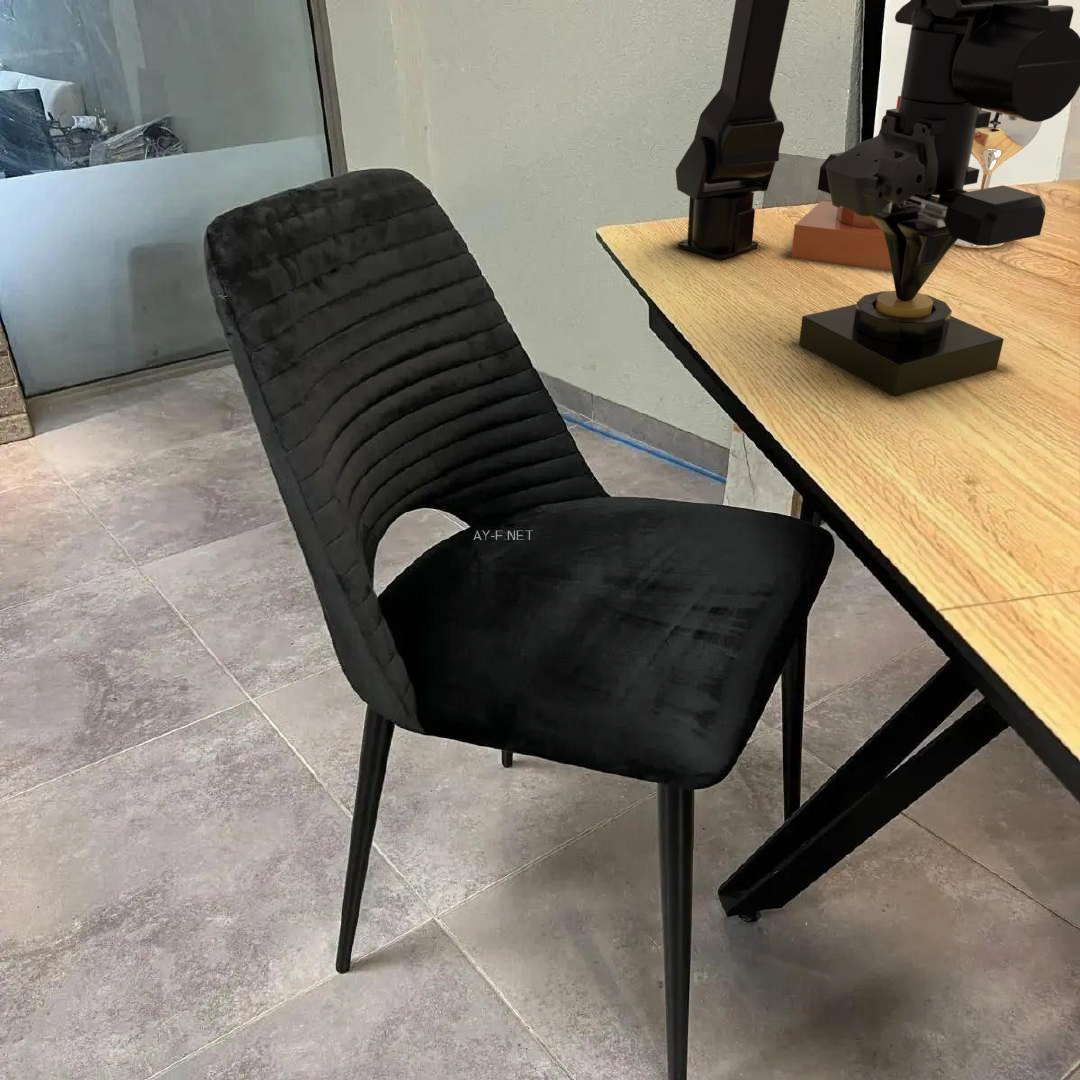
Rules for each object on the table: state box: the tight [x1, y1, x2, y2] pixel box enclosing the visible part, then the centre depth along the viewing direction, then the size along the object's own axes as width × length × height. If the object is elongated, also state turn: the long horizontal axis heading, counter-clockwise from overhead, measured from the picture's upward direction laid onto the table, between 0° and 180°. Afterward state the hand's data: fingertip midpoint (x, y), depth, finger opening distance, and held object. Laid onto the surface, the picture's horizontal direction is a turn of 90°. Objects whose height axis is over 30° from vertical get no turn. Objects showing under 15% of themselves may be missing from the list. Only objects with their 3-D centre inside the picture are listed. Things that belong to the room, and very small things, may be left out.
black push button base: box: [798, 290, 1005, 397], centre depth 86 cm, size 12×11×4 cm
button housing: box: [790, 200, 892, 272], centre depth 109 cm, size 13×10×6 cm
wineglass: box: [953, 108, 1043, 249], centre depth 108 cm, size 8×8×18 cm
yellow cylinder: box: [875, 290, 933, 318], centre depth 85 cm, size 4×4×2 cm
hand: (904, 299), depth 85 cm, fingers closed, pressing on yellow cylinder
